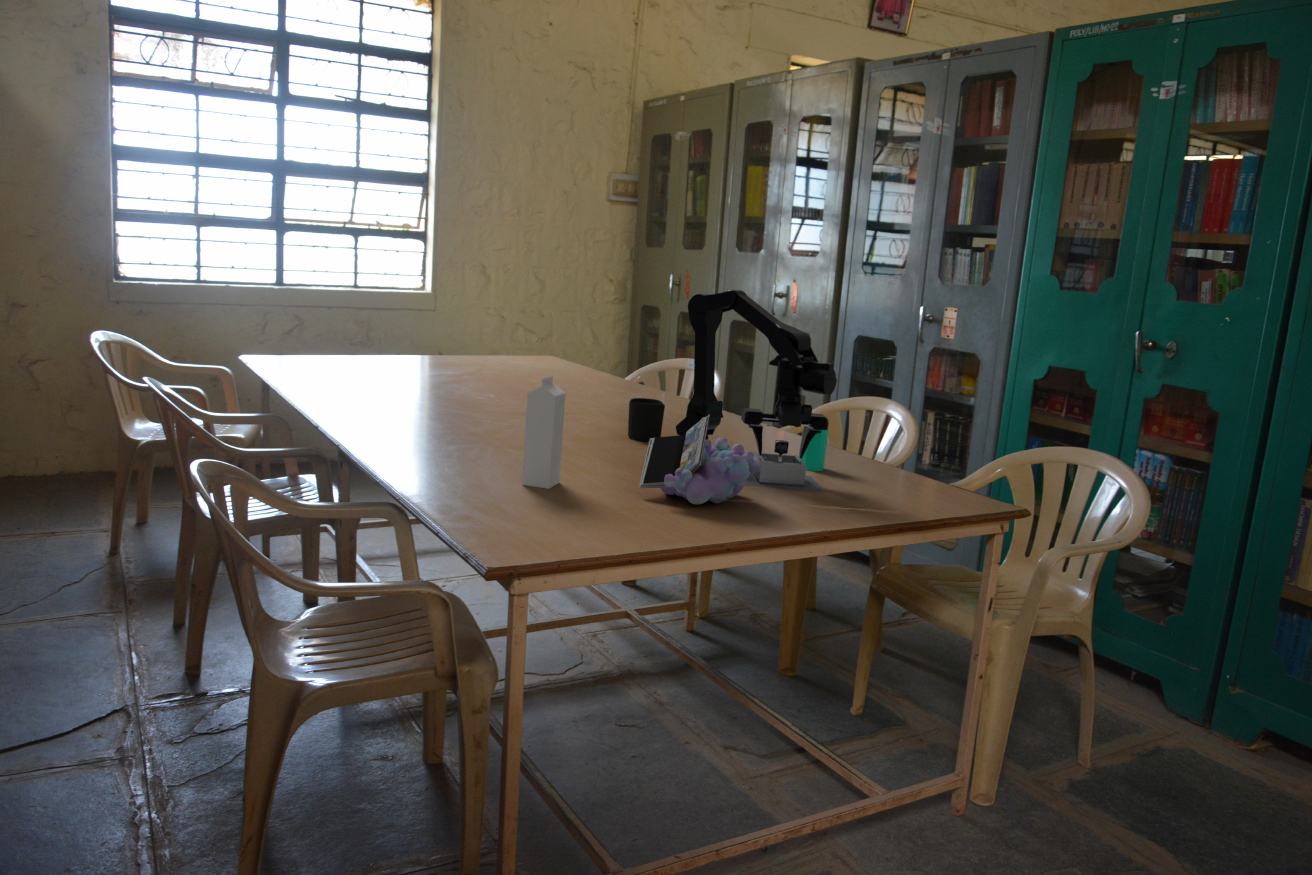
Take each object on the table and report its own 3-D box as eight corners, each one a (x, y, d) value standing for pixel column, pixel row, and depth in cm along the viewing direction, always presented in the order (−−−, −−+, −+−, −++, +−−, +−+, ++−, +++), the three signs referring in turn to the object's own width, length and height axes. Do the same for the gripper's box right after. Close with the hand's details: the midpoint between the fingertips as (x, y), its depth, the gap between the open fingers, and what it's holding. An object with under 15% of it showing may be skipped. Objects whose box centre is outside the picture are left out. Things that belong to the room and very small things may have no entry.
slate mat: (742, 486, 206) (742, 484, 206) (734, 471, 220) (734, 470, 220) (823, 492, 207) (823, 490, 207) (810, 477, 221) (810, 475, 221)
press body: (746, 482, 208) (748, 460, 207) (740, 472, 218) (742, 451, 217) (803, 487, 209) (806, 465, 208) (795, 476, 218) (797, 455, 218)
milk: (521, 485, 190) (527, 377, 186) (532, 479, 196) (538, 373, 192) (549, 489, 189) (556, 380, 185) (560, 482, 195) (566, 377, 191)
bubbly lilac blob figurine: (783, 488, 187) (761, 404, 192) (702, 492, 174) (680, 402, 178) (718, 516, 202) (699, 438, 207) (638, 522, 189) (620, 438, 193)
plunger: (765, 479, 210) (769, 443, 208) (760, 472, 216) (764, 437, 215) (795, 482, 210) (800, 445, 208) (790, 475, 217) (794, 439, 215)
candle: (823, 473, 226) (829, 424, 224) (797, 470, 227) (803, 421, 225) (823, 468, 232) (829, 420, 230) (799, 465, 233) (805, 417, 231)
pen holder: (668, 439, 251) (671, 402, 249) (649, 443, 243) (652, 405, 242) (639, 433, 256) (642, 397, 254) (619, 437, 248) (622, 399, 246)
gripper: (751, 390, 201) (744, 461, 204) (838, 396, 202) (829, 467, 205) (744, 382, 212) (737, 450, 215) (826, 389, 213) (818, 456, 216)
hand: (780, 456), depth 212 cm, fingers open, 9 cm apart
